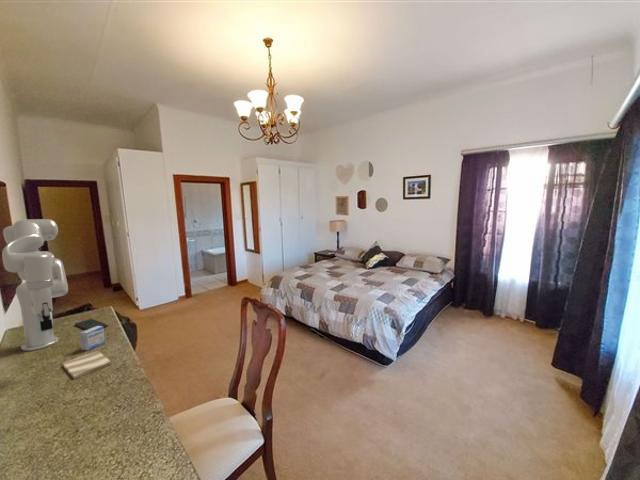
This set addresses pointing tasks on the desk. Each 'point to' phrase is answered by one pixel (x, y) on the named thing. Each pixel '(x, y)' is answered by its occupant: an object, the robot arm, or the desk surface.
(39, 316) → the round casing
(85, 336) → the medicine box
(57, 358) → the desk surface
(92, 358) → the birch board
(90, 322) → the smart home device
